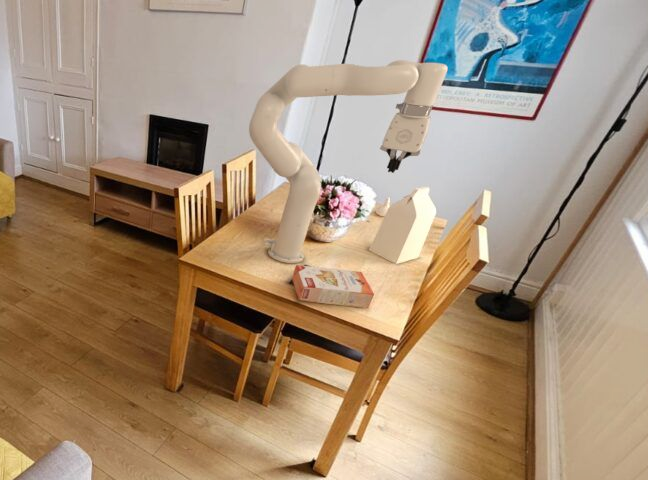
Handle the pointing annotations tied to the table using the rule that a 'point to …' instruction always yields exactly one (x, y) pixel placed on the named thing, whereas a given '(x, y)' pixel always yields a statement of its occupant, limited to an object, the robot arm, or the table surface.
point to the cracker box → (332, 286)
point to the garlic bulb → (383, 208)
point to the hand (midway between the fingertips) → (391, 171)
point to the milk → (405, 227)
